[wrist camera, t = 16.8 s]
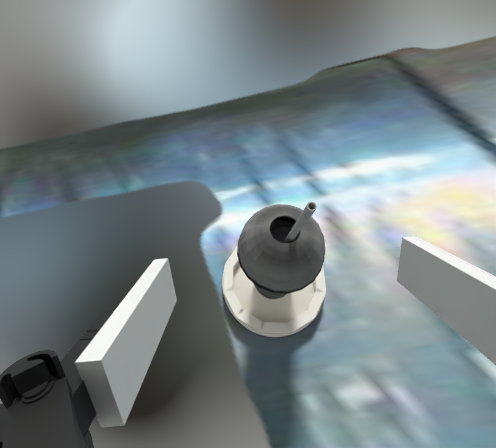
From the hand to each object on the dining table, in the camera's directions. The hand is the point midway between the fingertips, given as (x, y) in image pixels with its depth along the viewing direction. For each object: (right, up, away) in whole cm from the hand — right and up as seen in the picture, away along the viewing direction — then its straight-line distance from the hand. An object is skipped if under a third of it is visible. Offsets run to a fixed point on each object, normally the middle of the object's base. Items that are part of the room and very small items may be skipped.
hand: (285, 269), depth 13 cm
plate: (+1, -5, +17) cm, 18 cm away
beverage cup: (+1, -5, +17) cm, 18 cm away
